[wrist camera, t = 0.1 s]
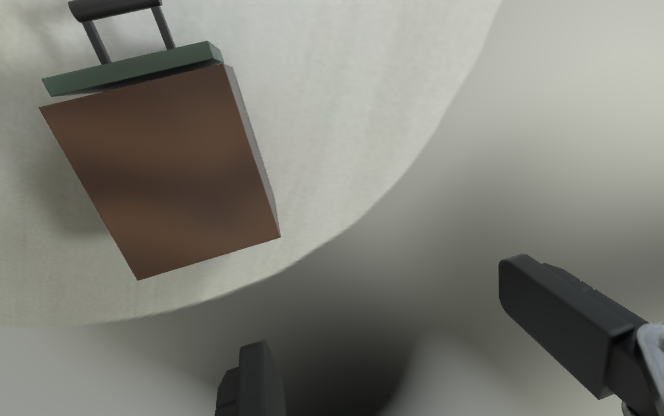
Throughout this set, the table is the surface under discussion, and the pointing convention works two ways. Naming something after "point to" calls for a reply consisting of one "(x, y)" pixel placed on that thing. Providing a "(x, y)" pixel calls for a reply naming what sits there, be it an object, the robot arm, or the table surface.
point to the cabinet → (170, 168)
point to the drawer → (101, 3)
